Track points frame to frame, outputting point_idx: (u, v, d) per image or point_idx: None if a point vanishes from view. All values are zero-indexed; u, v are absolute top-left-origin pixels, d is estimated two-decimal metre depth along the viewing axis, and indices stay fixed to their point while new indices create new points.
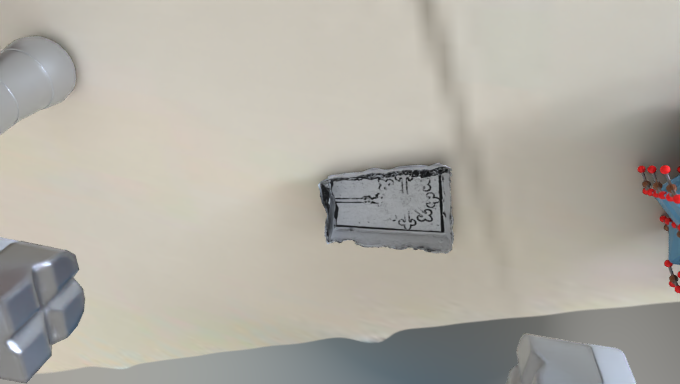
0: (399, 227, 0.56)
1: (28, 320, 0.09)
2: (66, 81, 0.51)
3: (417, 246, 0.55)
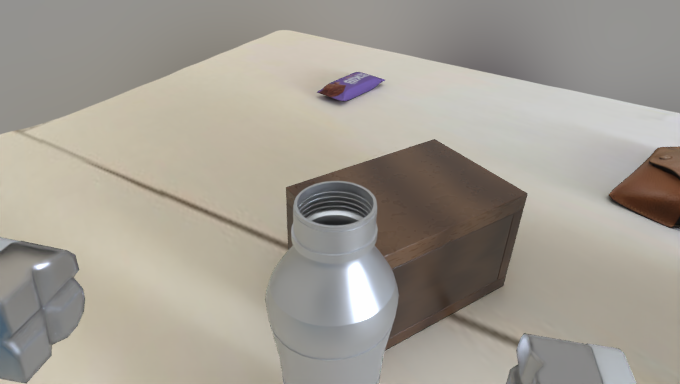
0: None
1: (28, 320, 0.09)
2: None
3: None
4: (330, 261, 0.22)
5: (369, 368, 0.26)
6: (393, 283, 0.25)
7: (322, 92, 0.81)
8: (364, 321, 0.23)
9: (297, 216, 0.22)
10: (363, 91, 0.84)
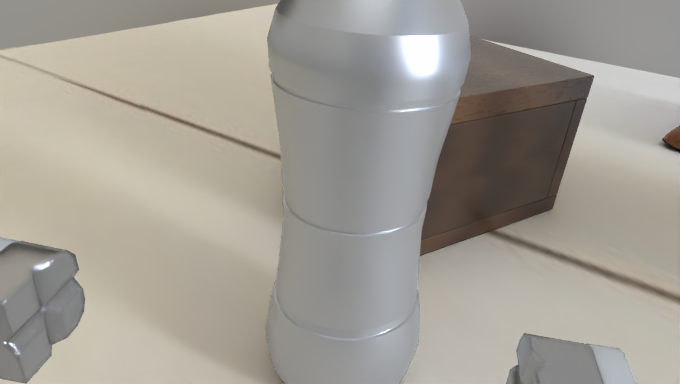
0: None
1: (28, 320, 0.09)
2: (377, 374, 0.20)
3: None
4: None
5: (421, 158, 0.17)
6: (466, 19, 0.16)
7: None
8: (426, 42, 0.14)
9: None
10: None
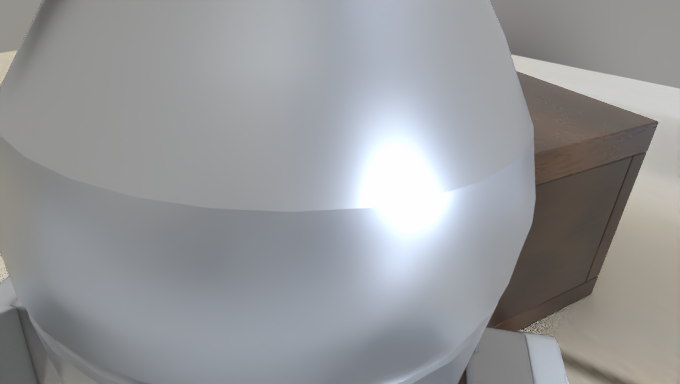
0: None
1: None
2: None
3: None
4: None
5: None
6: None
7: None
8: (420, 214, 0.04)
9: None
10: None
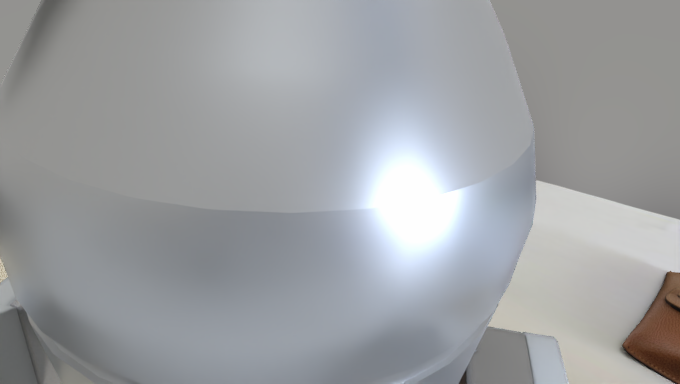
0: None
1: None
2: None
3: None
4: None
5: None
6: None
7: None
8: (419, 216, 0.04)
9: None
10: None
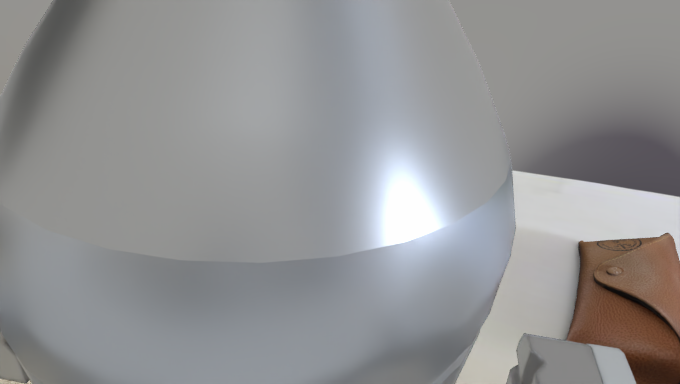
0: None
1: None
2: None
3: None
4: None
5: None
6: (505, 139, 0.06)
7: None
8: (392, 259, 0.04)
9: None
10: None
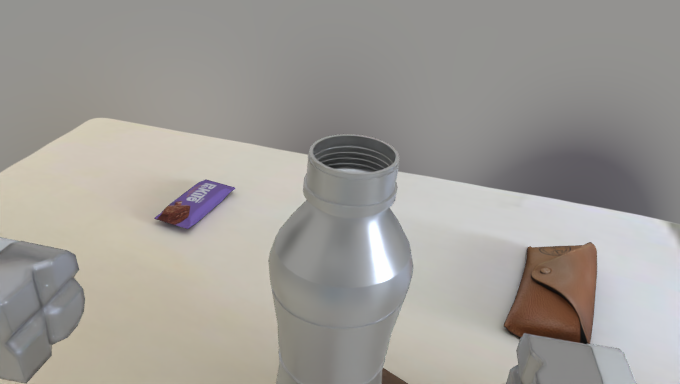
0: None
1: (28, 320, 0.09)
2: None
3: None
4: (346, 214, 0.20)
5: (377, 344, 0.23)
6: (409, 251, 0.23)
7: (161, 218, 0.66)
8: (377, 286, 0.21)
9: (313, 162, 0.20)
10: (212, 208, 0.70)
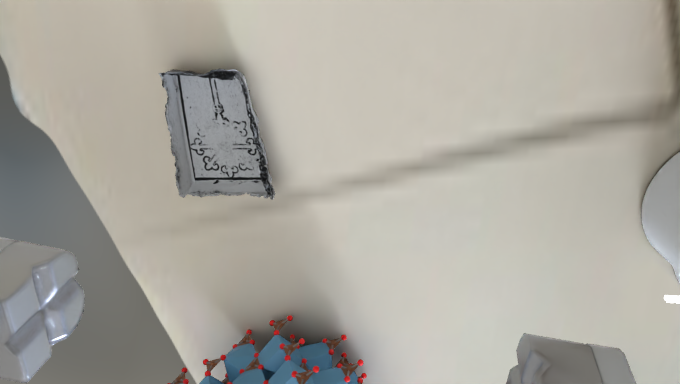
0: (191, 139, 0.53)
1: (28, 320, 0.09)
2: None
3: (178, 165, 0.53)
4: None
5: None
6: None
7: None
8: None
9: None
10: None
